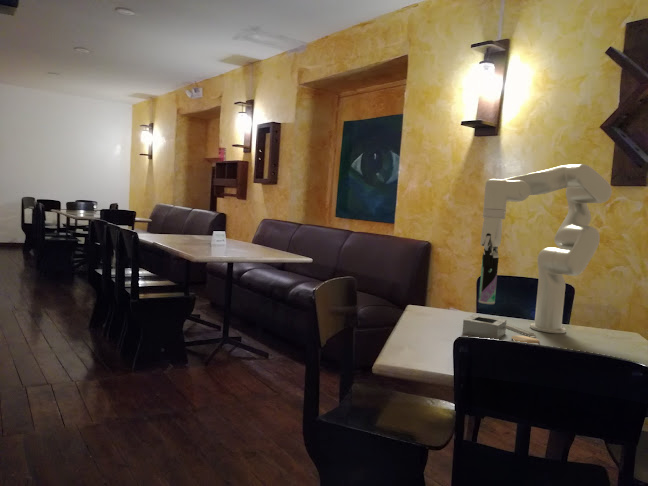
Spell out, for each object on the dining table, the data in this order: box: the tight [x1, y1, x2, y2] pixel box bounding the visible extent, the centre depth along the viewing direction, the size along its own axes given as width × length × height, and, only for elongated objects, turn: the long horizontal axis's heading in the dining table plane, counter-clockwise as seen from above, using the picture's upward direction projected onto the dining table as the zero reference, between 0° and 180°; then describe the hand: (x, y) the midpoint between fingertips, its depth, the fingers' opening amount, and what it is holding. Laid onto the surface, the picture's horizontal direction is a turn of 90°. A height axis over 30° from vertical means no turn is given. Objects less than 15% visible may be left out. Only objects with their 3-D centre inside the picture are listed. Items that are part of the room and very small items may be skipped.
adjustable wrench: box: [496, 318, 537, 337], centre depth 191 cm, size 25×6×2 cm, turn 16°
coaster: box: [511, 335, 541, 344], centre depth 173 cm, size 9×9×1 cm
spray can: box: [478, 248, 500, 305], centre depth 179 cm, size 6×6×20 cm
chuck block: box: [462, 314, 508, 340], centre depth 180 cm, size 12×12×5 cm
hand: (489, 265), depth 178 cm, fingers closed on spray can, 5 cm apart
